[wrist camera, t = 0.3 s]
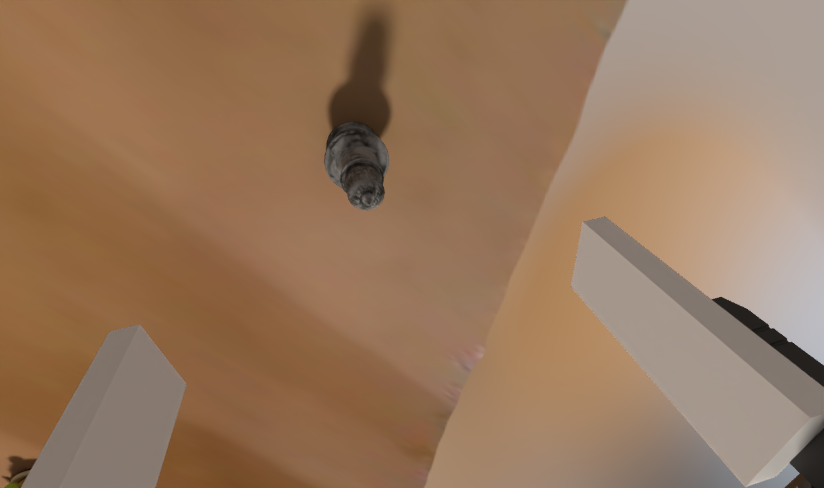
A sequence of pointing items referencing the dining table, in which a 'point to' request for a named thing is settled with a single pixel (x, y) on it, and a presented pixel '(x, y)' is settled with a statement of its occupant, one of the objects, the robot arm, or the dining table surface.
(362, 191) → the grey rounded stepped piece
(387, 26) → the dining table surface
